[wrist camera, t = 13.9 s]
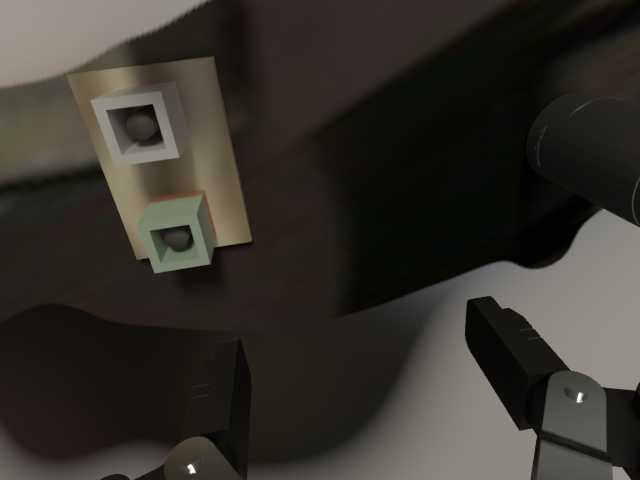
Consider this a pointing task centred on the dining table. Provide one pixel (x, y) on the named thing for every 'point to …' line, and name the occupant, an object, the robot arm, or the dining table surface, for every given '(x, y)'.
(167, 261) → the sage sleeve
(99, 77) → the pin board
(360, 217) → the dining table surface
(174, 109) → the grey sleeve
